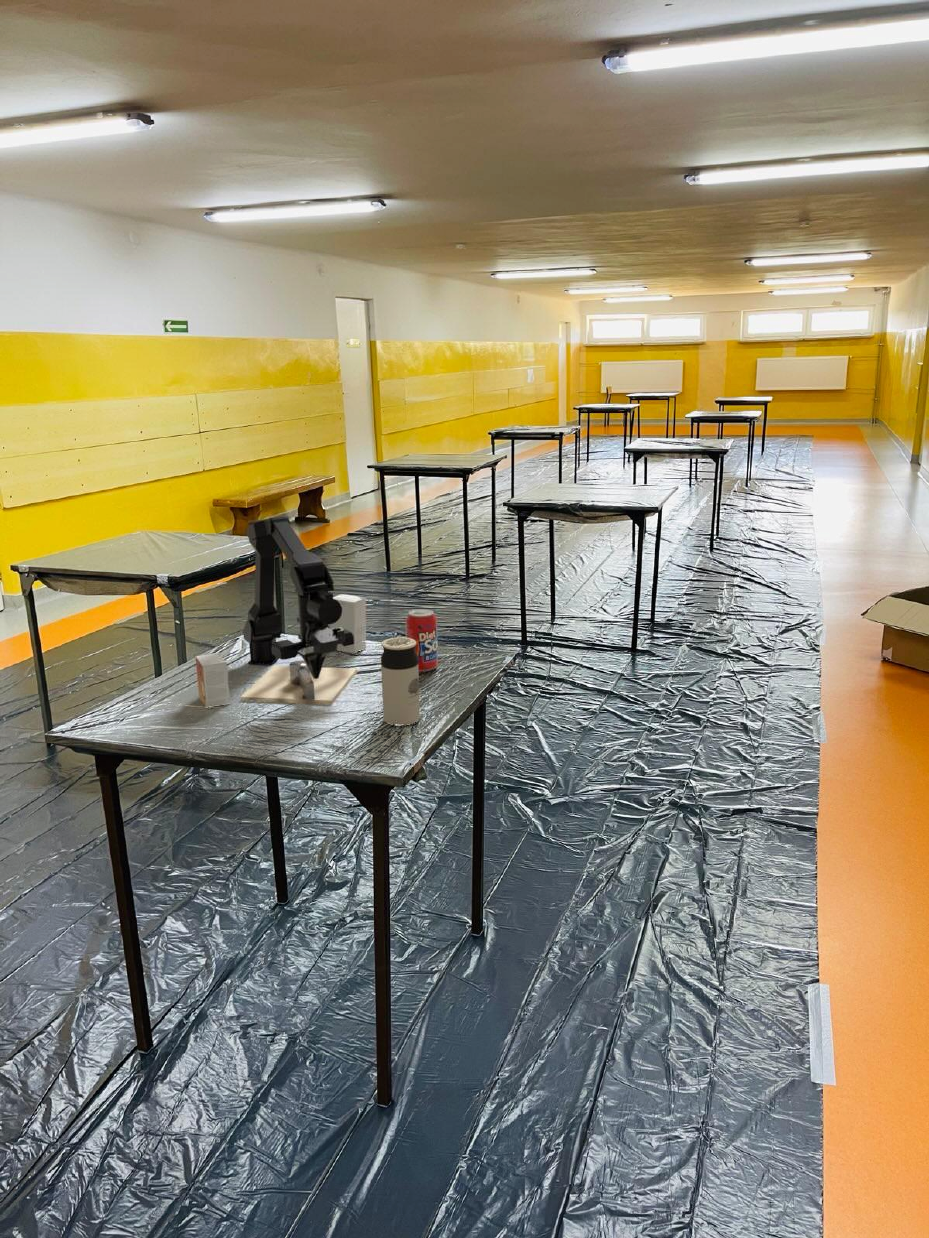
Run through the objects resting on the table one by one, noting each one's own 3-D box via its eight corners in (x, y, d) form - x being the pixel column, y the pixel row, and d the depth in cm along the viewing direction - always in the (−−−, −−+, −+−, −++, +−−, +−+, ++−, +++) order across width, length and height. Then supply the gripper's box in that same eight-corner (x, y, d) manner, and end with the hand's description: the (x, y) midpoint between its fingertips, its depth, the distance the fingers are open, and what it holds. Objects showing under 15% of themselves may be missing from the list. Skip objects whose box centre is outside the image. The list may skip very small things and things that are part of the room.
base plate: (240, 700, 204) (240, 696, 204) (274, 669, 225) (273, 665, 225) (331, 704, 201) (331, 700, 201) (357, 672, 222) (356, 668, 221)
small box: (199, 698, 206) (194, 655, 203) (223, 693, 209) (219, 652, 206) (206, 709, 199) (201, 665, 196) (230, 704, 202) (226, 661, 199)
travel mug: (376, 720, 192) (372, 642, 187) (403, 710, 197) (400, 634, 192) (400, 730, 186) (397, 650, 181) (427, 719, 192) (425, 641, 187)
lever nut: (287, 675, 216) (286, 658, 215) (307, 673, 218) (306, 656, 217) (300, 701, 200) (299, 683, 198) (322, 698, 201) (321, 680, 200)
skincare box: (330, 650, 239) (327, 598, 235) (343, 644, 244) (340, 592, 240) (356, 654, 235) (353, 601, 231) (368, 648, 241) (366, 596, 236)
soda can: (409, 663, 228) (407, 608, 224) (438, 663, 228) (437, 608, 224) (405, 673, 221) (403, 616, 216) (436, 673, 220) (435, 616, 216)
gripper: (289, 629, 188) (294, 697, 192) (365, 614, 198) (368, 679, 203) (267, 618, 196) (273, 683, 201) (341, 604, 207) (344, 666, 211)
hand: (315, 678), depth 204 cm, fingers closed
